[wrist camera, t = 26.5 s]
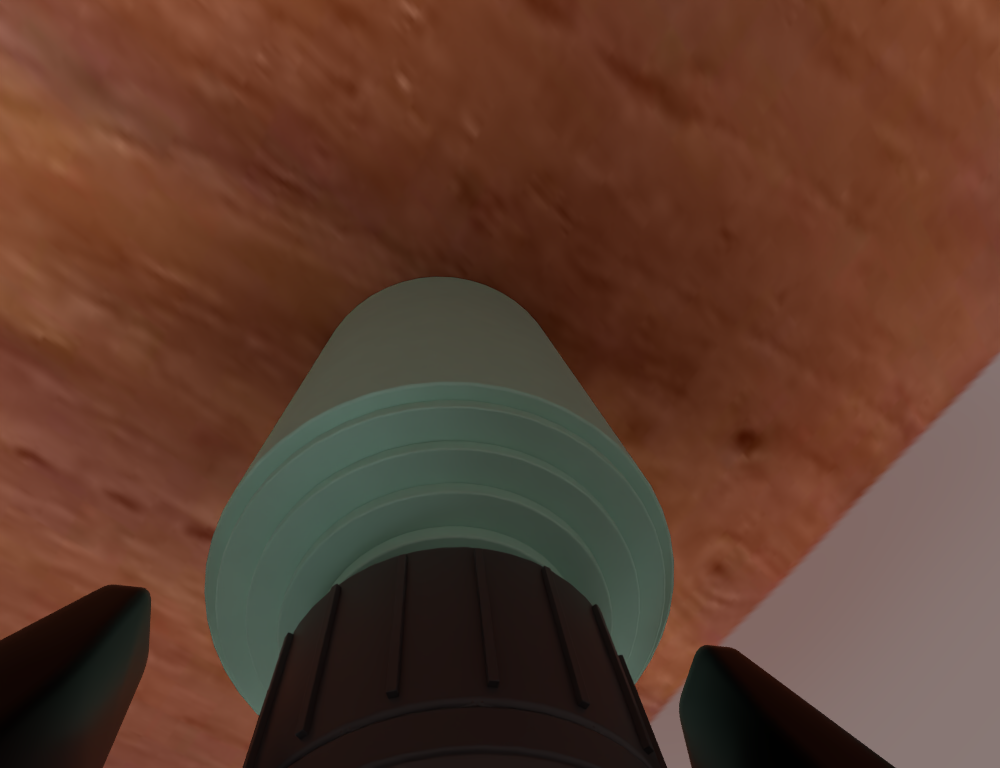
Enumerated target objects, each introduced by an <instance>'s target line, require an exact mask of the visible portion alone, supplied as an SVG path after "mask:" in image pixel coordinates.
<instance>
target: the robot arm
mask: <svg viewBox="0 0 1000 768" xmlns="http://www.w3.org/2000/svg"><path fill="white" fill-rule="evenodd" d="M150 614H151V597H150V593H149V592H148V590H146V589H145V588H142V587H132V586H123V585H107V586H104V587H102V588H100V589H98V590H96V591H94V592H92V593H90V594H88V595H86V596H84V597H82V598H81V599H79V600H77V601H75V602H73V603H71V604H69V605H67V606H65V607H63V608H61V609H59V610H58V611H56V612H54V613H52V614H50V615H48V616H46V617H44V618H42V619H40V620H38V621H37V622H35V623H33V624H31V625H29V626H27V627H25V628H23V629H21V630H19V631H17V632H15V633H14V634H12V635H10V636H8V637H6V638H4V639H2V640H0V768H103V766H104V764H105V761H106V759H107V757H108V754H109V752H110V750H111V747H112V745H113V743H114V740H115V738H116V736H117V733H118V731H119V729H120V726H121V724H122V722H123V719H124V717H125V715H126V712H127V710H128V708H129V705H130V703H131V701H132V698H133V696H134V694H135V692H136V689H137V687H138V685H139V682H140V680H141V678H142V675H143V672H144V669H145V666H146V663H147V658H148V652H149V635H150ZM679 714H680V721H681V725H682V729H683V733H684V738H685V742H686V746H687V750H688V754H689V758H690V762H691V766H692V768H895V767H894V766H892V765H891V764H890V763H888V762H887V761H886V760H884V759H883V758H882V757H880V756H879V755H877V754H876V753H875V752H873V751H872V750H871V749H869V748H868V747H867V746H865V745H864V744H863V743H861V742H860V741H859V740H857V739H856V738H854V737H853V736H852V735H851V734H849V733H848V732H846V731H845V730H844V729H842V728H841V727H840V726H838V725H837V724H836V723H834V722H833V721H832V720H830V719H829V718H828V717H826V716H825V715H824V714H822V713H821V712H820V711H818V710H817V709H816V708H814V707H813V706H812V705H810V704H809V703H807V702H806V701H805V700H803V699H802V698H801V697H799V696H798V695H796V694H795V693H794V692H793V691H791V690H790V689H789V688H787V687H786V686H785V685H783V684H782V683H781V682H779V681H778V680H777V679H775V678H774V677H772V676H771V675H770V674H768V673H767V672H766V671H764V670H763V669H762V668H760V667H759V666H758V665H756V664H755V663H754V662H752V661H751V660H750V659H748V658H747V657H746V656H744V655H743V654H741V653H740V652H739V651H737V650H736V649H733V648H730V647H721V646H711V645H704V646H702V647H700V648H699V649H698V650H697V652H696V654H695V656H694V659H693V662H692V665H691V668H690V671H689V674H688V677H687V679H686V682H685V685H684V688H683V691H682V694H681V698H680V704H679Z"/></svg>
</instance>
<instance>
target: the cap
mask: <svg viewBox="0 0 1000 768" xmlns="http://www.w3.org/2000/svg"><path fill="white" fill-rule="evenodd" d="M243 768H667V766H666V764H665V761H664V758H663V756H662V754H661V751H660V748H659V746H658V743H657V741H656V738H655V736H654V733H653V730H652V728H651V725H650V723H649V720H648V718H647V715H646V713H645V710H644V708H643V705H642V703H641V700H640V697H639V695H638V692H637V690H636V687H635V685H634V682H633V680H632V677H631V675H630V672H629V670H628V667H627V664H626V662H625V659H624V657H623V655H618V654H617V651H616V649H615V646H614V644H613V641H612V638H611V636H610V633H609V631H608V628H607V625H606V623H605V620H604V618H603V615H602V612H601V610H600V608H599V606H598V605H597V604H595V605H593V606H592V604H591V603H590V602H589V601H588V600H587V598H586V597H585V596H584V595H583V594H581V593H580V592H579V591H578V590H577V589H576V588H575V587H574V586H573V585H571V584H570V583H569V582H567V581H566V580H564V579H563V578H561V577H560V576H558V575H557V574H555V573H554V572H553V571H551V569H550V568H549V567H547V566H544V567H543V566H541V565H539V564H537V563H535V562H533V561H530V560H527V559H524V558H521V557H518V556H516V555H513V554H509V553H504V552H500V551H495V550H490V549H482V548H471V547H443V548H434V549H427V550H420V551H415V552H411V553H407V554H402V555H399V556H395V557H392V558H389V559H387V560H384V561H382V562H379V563H376V564H373V565H371V566H369V567H368V568H366V569H364V570H362V571H360V572H358V573H356V574H354V575H352V576H351V577H349V578H348V579H346V580H345V581H343V582H342V583H341V584H339V585H338V584H335V585H334V586H333V587H331V590H330V592H328V593H327V594H326V595H325V596H324V597H323V598H322V599H321V600H320V601H319V602H317V603H316V604H315V605H314V606H313V607H312V608H311V610H310V611H309V612H308V613H307V614H306V616H305V617H304V618H303V619H302V620H301V622H300V623H299V624H298V626H297V628H296V629H295V631H294V632H293V634H292V633H289V632H288V633H287V635H286V637H285V639H284V642H283V645H282V648H281V651H280V654H279V657H278V661H277V664H276V667H275V670H274V673H273V676H272V679H271V682H270V686H269V689H268V690H267V693H266V696H265V700H264V703H263V706H262V709H261V712H260V715H259V718H258V721H257V724H256V728H255V731H254V734H253V737H252V740H251V743H250V746H249V749H248V753H247V756H246V759H245V762H244V765H243Z"/></svg>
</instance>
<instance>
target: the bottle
mask: <svg viewBox="0 0 1000 768" xmlns="http://www.w3.org/2000/svg"><path fill="white" fill-rule="evenodd" d="M443 547H471V548H482V549H490V550H495V551H500V552H504V553H509V554H513V555H516V556H518V557H521V558H524V559H527V560H530V561H533V562H535V563H537V564H539V565H541V566H543V567H544V566H547V567H549V568H550V569H551V571H553V572H554V573H555V574H557V575H558V576H560V577H561V578H563V579H564V580H566V581H567V582H569V583H570V584H571V585H573V586H574V587H575V588H576V589H577V590H578V591H579V592H580V593H581V594H583V595H584V596H585V597H586V598H587V600H588V601H589V602H590V603H591V604H592V606H593V605H595V604H597V605H598V606H599V608H600V610H601V612H602V615H603V618H604V620H605V623H606V625H607V628H608V631H609V633H610V636H611V638H612V641H613V644H614V646H615V649H616V651H617V654H618V655H623V657H624V659H625V662H626V664H627V667H628V670H629V672H630V675H631V677H632V680H633V682H634V685H635V683H636V682H637V681H638V679H639V678H640V676H641V675H642V673H643V671H644V670H645V668H646V667H647V665H648V664H649V662H650V660H651V659H652V657H653V654H654V652H655V650H656V648H657V646H658V644H659V642H660V639H661V637H662V635H663V631H664V628H665V625H666V622H667V619H668V615H669V612H670V606H671V599H672V593H673V586H674V559H673V551H672V544H671V537H670V533H669V530H668V526H667V523H666V520H665V516H664V513H663V510H662V508H661V506H660V504H659V502H658V499H657V497H656V495H655V493H654V491H653V489H652V487H651V485H650V484H649V482H648V481H647V479H646V478H645V476H644V475H643V473H642V472H641V471H640V469H639V468H638V466H637V465H636V463H635V462H634V460H633V459H632V457H631V456H630V455H629V453H628V452H627V450H626V449H625V447H624V446H623V445H622V443H621V442H620V440H619V439H618V437H617V436H616V435H615V433H614V432H613V430H612V429H611V427H610V426H609V425H608V423H607V422H606V420H605V419H604V417H603V416H602V414H601V413H600V412H599V410H598V409H597V407H596V406H595V404H594V403H593V402H592V400H591V399H590V397H589V396H588V394H587V393H586V392H585V390H584V389H583V387H582V386H581V384H580V383H579V382H578V380H577V379H576V377H575V376H574V374H573V373H572V371H571V370H570V369H569V367H568V366H567V364H566V363H565V361H564V360H563V359H562V357H561V356H560V354H559V353H558V351H557V350H556V349H555V347H554V346H553V344H552V343H551V341H550V340H549V339H548V337H547V336H546V334H545V333H544V331H543V330H542V329H541V327H540V326H539V324H538V323H537V322H536V321H535V320H534V318H533V317H532V316H531V315H530V314H529V313H528V312H527V311H526V310H525V309H524V308H522V307H521V306H520V305H519V304H518V303H517V302H515V301H514V300H512V299H511V298H509V297H508V296H506V295H505V294H503V293H501V292H499V291H497V290H495V289H493V288H491V287H489V286H486V285H484V284H480V283H477V282H474V281H471V280H466V279H460V278H454V277H426V278H418V279H413V280H409V281H404V282H401V283H398V284H395V285H393V286H390V287H387V288H385V289H383V290H381V291H379V292H377V293H376V294H374V295H372V296H370V297H369V298H367V299H366V300H365V301H363V302H362V303H360V304H359V305H358V306H357V307H356V308H354V309H353V310H352V311H351V312H350V313H349V314H348V315H347V316H346V317H345V318H344V320H343V321H342V322H341V323H340V325H339V326H338V327H337V328H336V330H335V331H334V333H333V334H332V336H331V337H330V339H329V341H328V342H327V344H326V345H325V347H324V349H323V350H322V352H321V353H320V355H319V357H318V358H317V360H316V361H315V363H314V365H313V366H312V368H311V369H310V371H309V373H308V374H307V376H306V377H305V379H304V381H303V382H302V384H301V385H300V387H299V388H298V390H297V392H296V393H295V395H294V396H293V398H292V400H291V401H290V403H289V404H288V406H287V408H286V409H285V411H284V412H283V414H282V416H281V417H280V419H279V420H278V422H277V424H276V425H275V427H274V428H273V430H272V432H271V433H270V435H269V436H268V438H267V440H266V441H265V443H264V444H263V446H262V447H261V449H260V451H259V452H258V454H257V455H256V457H255V459H254V460H253V462H252V463H251V465H250V467H249V468H248V470H247V471H246V473H245V475H244V476H243V478H242V479H241V481H240V483H239V484H238V486H237V488H236V489H235V491H234V493H233V494H232V496H231V498H230V499H229V501H228V503H227V505H226V506H225V508H224V510H223V512H222V514H221V517H220V519H219V522H218V524H217V527H216V529H215V532H214V534H213V537H212V541H211V545H210V550H209V554H208V559H207V563H206V576H205V602H206V612H207V621H208V625H209V628H210V632H211V636H212V640H213V643H214V647H215V649H216V651H217V654H218V656H219V658H220V661H221V663H222V665H223V667H224V670H225V671H226V673H227V675H228V676H229V678H230V679H231V681H232V683H233V684H234V686H235V687H236V689H237V690H238V692H239V693H240V695H241V696H242V697H243V698H244V699H245V700H246V702H247V703H248V704H249V705H250V706H251V707H252V709H253V710H254V711H255V712H256V713H257V714H258V715H260V712H261V709H262V706H263V703H264V700H265V696H266V693H267V690H268V689H269V686H270V682H271V679H272V676H273V673H274V670H275V667H276V664H277V661H278V657H279V654H280V651H281V648H282V645H283V642H284V639H285V637H286V635H287V633H288V632H289V633H292V634H293V632H294V631H295V629H296V628H297V626H298V624H299V623H300V622H301V620H302V619H303V618H304V617H305V616H306V614H307V613H308V612H309V611H310V610H311V608H312V607H313V606H314V605H315V604H316V603H317V602H319V601H320V600H321V599H322V598H323V597H324V596H325V595H326V594H327V593H328V592H330V590H331V587H333V586H334V585H335V584H338V585H339V584H341V583H342V582H343V581H345V580H346V579H348V578H349V577H351V576H352V575H354V574H356V573H358V572H360V571H362V570H364V569H366V568H368V567H369V566H371V565H373V564H376V563H379V562H382V561H384V560H387V559H389V558H392V557H395V556H399V555H402V554H407V553H411V552H415V551H420V550H427V549H434V548H443Z"/></svg>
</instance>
